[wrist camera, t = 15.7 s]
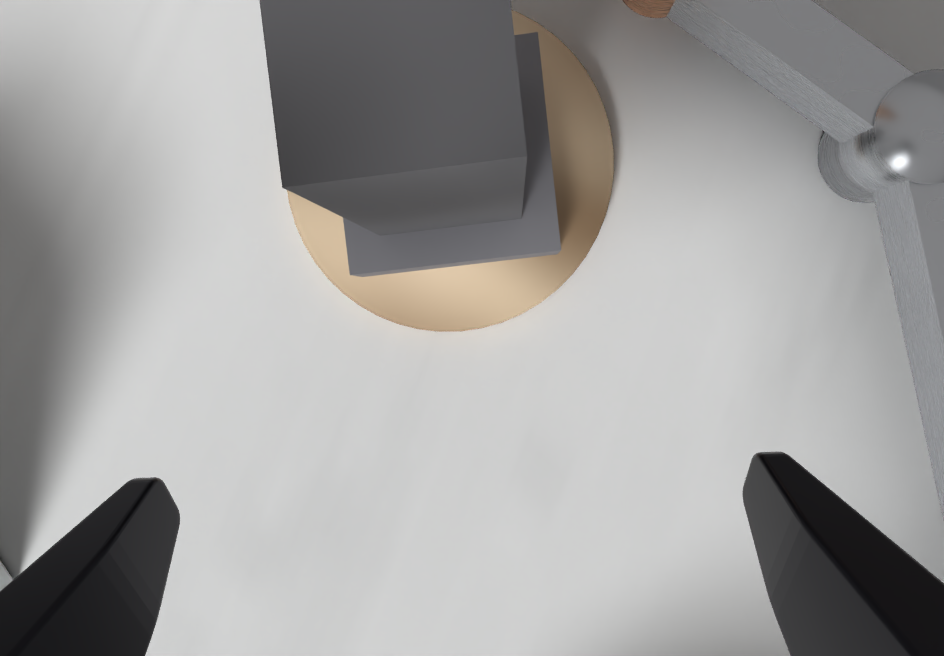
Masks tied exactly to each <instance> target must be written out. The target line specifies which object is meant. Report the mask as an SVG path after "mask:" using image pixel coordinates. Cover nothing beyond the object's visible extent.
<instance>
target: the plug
mask: <svg viewBox="0 0 944 656" xmlns="http://www.w3.org/2000/svg"><path fill="white" fill-rule="evenodd" d="M260 8H261V16H262V24H263V32H264V40H265V49H266V57H267V65H268V73H269V81H270V90H271V98H272V106H273V114H274V123H275V131H276V139H277V147H278V155H279V164H280V172H281V180H282V188H284V189H286V190H288V191H290V192H293V193H295V194H297V195H299V196H301V197H303V198H305V199H307V200H309V201H311V202H313V203H315V204H317V205H319V206H321V207H323V208H325V209H327V210H329V211H331V212H333V213H335V214H337V215H339V216H341V217H343V223H344V231H345V240H346V248H347V256H348V265H349V273H350V275H352V276H359V277H368V276H376V275H385V274H393V273H402V272H410V271H419V270H427V269H436V268H445V267H453V266H462V265H470V264H479V263H487V262H496V261H504V260H513V259H522V258H530V257H539V256H547V255H556V254H558V253H559V252H560V251H561V244H560V234H559V225H558V216H557V206H556V197H555V187H554V178H553V169H552V159H551V150H550V141H549V131H548V122H547V113H546V103H545V94H544V84H543V75H542V66H541V56H540V47H539V38H538V32H534V33H526V34H519V35H514V29H513V20H512V10H511V1H510V0H260Z"/></svg>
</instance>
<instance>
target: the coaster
mask: <svg viewBox="0 0 944 656" xmlns="http://www.w3.org/2000/svg"><path fill="white" fill-rule="evenodd" d="M512 20H513V29H514V35H519V34H526V33H534V32H538V38H539V47H540V56H541V66H542V75H543V84H544V94H545V103H546V113H547V122H548V131H549V141H550V150H551V159H552V169H553V178H554V187H555V197H556V206H557V216H558V225H559V234H560V244H561V251H560V252H559V253H558V254H556V255H547V256H539V257H530V258H522V259H513V260H504V261H496V262H487V263H479V264H470V265H462V266H453V267H445V268H436V269H427V270H419V271H410V272H402V273H393V274H385V275H376V276H368V277H359V276H352V275H350V273H349V265H348V256H347V248H346V240H345V231H344V223H343V217H341V216H339V215H337V214H335V213H333V212H331V211H329V210H327V209H325V208H323V207H321V206H319V205H317V204H315V203H313V202H311V201H309V200H307V199H305V198H303V197H301V196H299V195H297V194H295V193H293V192H290V191H288V190H287V192H288V198H289V204H290V208H291V211H292V214H293V218H294V221H295V225H296V227H297V229H298V231H299V234H300V236H301V238H302V241H303V243H304V245H305V246H306V248H307V250H308V251H309V253H310V255H311V256H312V258H313V260H314V262H315V263H316V264H317V265H318V267H319V268H320V269H321V270H322V272H323V273H324V274H325V276H326V277H327V278H328V279H329V280H330V281H331V282H332V283H333V284H334V285H335V286H336V287H337V288H338V289H339V290H340V291H341V292H342V293H343V294H345V295H346V296H347V297H349V298H350V299H351V300H353V301H354V302H355V303H357V304H358V305H359V306H361V307H363V308H365V309H367V310H368V311H370V312H372V313H374V314H375V315H377V316H379V317H382V318H384V319H387V320H389V321H392V322H394V323H397V324H400V325H404V326H408V327H412V328H416V329H422V330H430V331H439V332H441V331H465V330H472V329H479V328H484V327H487V326H491V325H494V324H498V323H502V322H504V321H506V320H509V319H511V318H513V317H516V316H518V315H520V314H522V313H524V312H526V311H528V310H529V309H531V308H533V307H534V306H536V305H538V304H539V303H541V302H542V301H543V300H545V299H546V298H547V297H548V296H550V295H551V294H552V293H554V292H555V291H556V290H557V289H558V288H559V287H560V286H561V285H562V284H563V283H564V282H565V281H566V280H567V279H568V278H569V277H570V276H571V275H572V274H573V273H574V272H575V270H576V269H577V268H578V266H579V265H580V264H581V262H582V261H583V260H584V258H585V257H586V255H587V254H588V252H589V250H590V248H591V247H592V245H593V243H594V241H595V240H596V238H597V236H598V233H599V231H600V228H601V226H602V223H603V221H604V218H605V216H606V212H607V208H608V204H609V200H610V196H611V190H612V182H613V174H614V151H613V144H612V136H611V129H610V125H609V122H608V118H607V115H606V111H605V107H604V105H603V103H602V100H601V98H600V96H599V93H598V91H597V89H596V87H595V85H594V83H593V81H592V80H591V78H590V76H589V75H588V73H587V71H586V70H585V68H584V67H583V66H582V64H581V63H580V62H579V61H578V59H577V58H576V57H575V55H574V54H573V53H572V52H571V51H570V50H569V49H568V48H567V47H566V46H565V45H564V44H563V43H562V42H561V41H560V40H559V39H558V38H557V37H556V36H555V35H553V34H552V33H551V32H549V31H548V30H546V29H545V28H544V27H542V26H541V25H540V24H538V23H537V22H535V21H533V20H531V19H529V18H527V17H525V16H524V15H522V14H520V13H518V12H515V11H513V10H512Z"/></svg>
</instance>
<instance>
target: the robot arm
mask: <svg viewBox="0 0 944 656" xmlns="http://www.w3.org/2000/svg"><path fill="white" fill-rule="evenodd" d="M743 502H744V506H745V510H746V514H747V517H748V521H749V525H750V529H751V532H752V536H753V540H754V544H755V548H756V551H757V555H758V559H759V563H760V566H761V570H762V574H763V578H764V582H765V585H766V589H767V592H768V596H769V599H770V602H771V605H772V608H773V610H774V613H775V616H776V619H777V621H778V624H779V626H780V629H781V632H782V634H783V637H784V639H785V642H786V644H787V647H788V650H789V652H790V655H791V656H944V583H943V582H941V581H940V580H939V579H938V578H936V577H935V576H934V575H933V574H932V573H930V572H929V571H928V570H927V569H926V568H924V567H923V566H922V565H921V564H920V563H918V562H917V561H916V560H915V559H914V558H912V557H911V556H910V555H909V554H907V553H906V552H905V551H904V550H903V549H901V548H900V547H899V546H898V545H897V544H895V543H894V542H893V541H892V540H891V539H889V538H888V537H887V536H886V535H884V534H883V533H882V532H881V531H880V530H878V529H877V528H876V527H875V526H874V525H872V524H871V523H870V522H869V521H868V520H866V519H865V518H864V517H863V516H862V515H860V514H859V513H858V512H857V511H855V510H854V509H853V508H852V507H851V506H849V505H848V504H847V503H846V502H845V501H843V500H842V499H841V498H840V497H839V496H837V495H836V494H835V493H834V492H832V491H831V490H830V489H829V488H828V487H826V486H825V485H824V484H823V483H822V482H820V481H819V480H818V479H817V478H816V477H814V476H813V475H812V474H811V473H810V472H808V471H807V470H806V469H805V468H803V467H802V466H801V465H800V464H799V463H797V462H796V461H795V460H794V459H793V458H791V457H790V456H789V455H787V454H785V453H783V452H760V453H756V454H755V455H754V456H753V458H752V460H751V464H750V467H749V470H748V473H747V477H746V480H745V483H744V486H743ZM179 524H180V514H179V510H178V508H177V506H176V504H175V502H174V500H173V498H172V496H171V495H170V493H169V491H168V489H167V487H166V485H165V483H164V482H163V481H162V480H161V479H159V478H155V477H154V478H136V479H132V480H130V481H128V482H127V483H126V484H124V485H123V486H122V487H121V488H120V489H119V490H117V491H116V492H115V493H114V494H113V495H112V496H110V497H109V498H108V499H107V500H106V501H105V502H103V503H102V504H101V505H100V506H99V507H98V508H96V509H95V510H94V511H93V512H92V513H91V514H90V515H88V516H87V517H86V518H85V519H84V520H83V521H81V522H80V523H79V524H78V525H77V526H76V527H74V528H73V529H72V530H71V531H70V532H69V533H67V534H66V535H65V536H64V537H63V538H62V539H60V540H59V541H58V542H57V543H56V544H55V545H53V546H52V547H51V548H50V549H49V550H48V551H46V552H45V553H44V554H43V555H42V556H41V557H39V558H38V559H37V560H36V561H35V562H34V563H32V564H31V565H30V566H29V567H28V568H27V569H25V570H24V571H23V572H22V573H21V574H20V575H18V576H17V577H16V578H15V579H14V580H13V581H11V582H10V583H9V584H8V585H7V586H6V587H4V588H3V589H2V590H1V591H0V656H145V654H146V652H147V649H148V646H149V643H150V640H151V637H152V634H153V631H154V628H155V625H156V622H157V618H158V614H159V610H160V607H161V603H162V598H163V594H164V590H165V585H166V581H167V577H168V572H169V568H170V564H171V559H172V555H173V551H174V547H175V542H176V538H177V534H178V529H179Z"/></svg>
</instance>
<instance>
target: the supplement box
mask: <svg viewBox="0 0 944 656" xmlns="http://www.w3.org/2000/svg"><path fill="white" fill-rule="evenodd" d="M11 581H13V579H12V577H11V576H10V574H9V573H8V571H7V570H6V568H5V566H4V565H3V564H2V562H1V561H0V591H1V590H2V589H3V588H4V587H6V586H7V585H8V584H9V583H10V582H11Z"/></svg>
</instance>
